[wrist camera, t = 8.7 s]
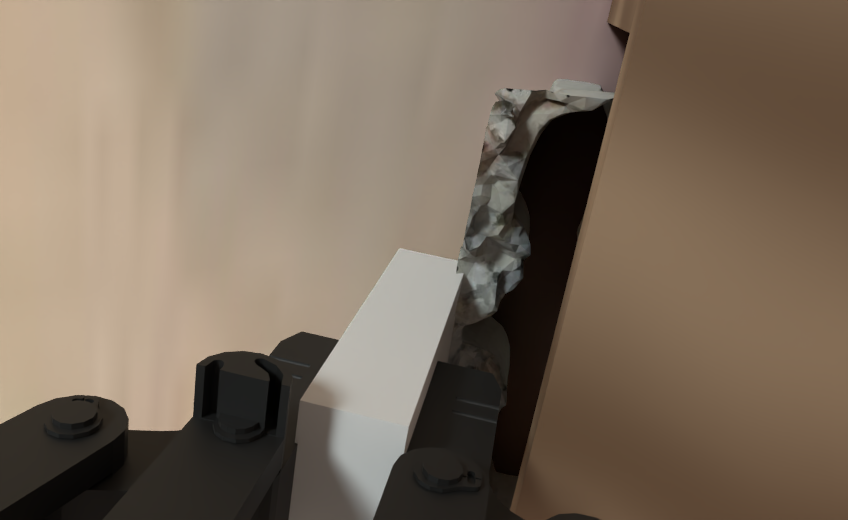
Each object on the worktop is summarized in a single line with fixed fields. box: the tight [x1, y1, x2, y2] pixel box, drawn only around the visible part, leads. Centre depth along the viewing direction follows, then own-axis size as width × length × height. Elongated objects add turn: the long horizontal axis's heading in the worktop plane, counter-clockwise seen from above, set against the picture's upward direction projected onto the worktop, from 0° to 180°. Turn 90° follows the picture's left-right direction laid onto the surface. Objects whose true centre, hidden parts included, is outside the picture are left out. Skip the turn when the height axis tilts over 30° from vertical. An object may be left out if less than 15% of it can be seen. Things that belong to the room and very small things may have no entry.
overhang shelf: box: [510, 0, 848, 520], centre depth 14 cm, size 16×10×6 cm, turn 170°
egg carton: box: [447, 79, 615, 510], centre depth 16 cm, size 11×8×4 cm
